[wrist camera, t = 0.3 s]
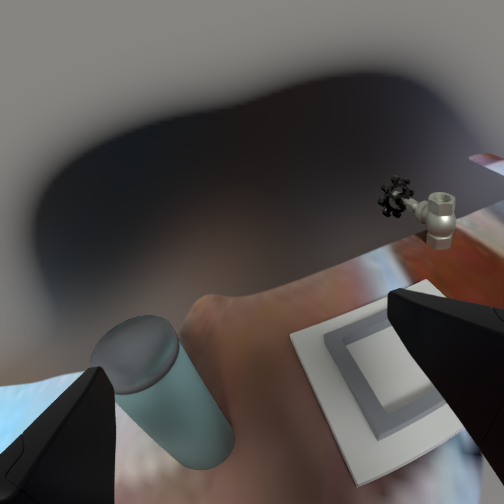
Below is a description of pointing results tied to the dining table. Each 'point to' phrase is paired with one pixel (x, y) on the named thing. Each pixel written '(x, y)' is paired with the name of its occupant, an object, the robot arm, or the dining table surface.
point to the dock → (373, 390)
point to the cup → (164, 391)
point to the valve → (423, 211)
